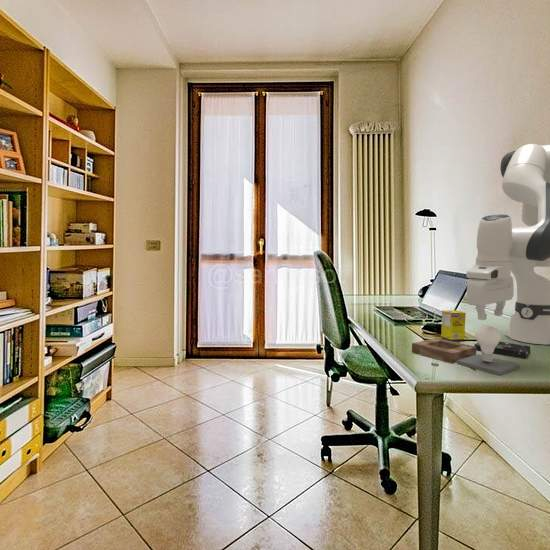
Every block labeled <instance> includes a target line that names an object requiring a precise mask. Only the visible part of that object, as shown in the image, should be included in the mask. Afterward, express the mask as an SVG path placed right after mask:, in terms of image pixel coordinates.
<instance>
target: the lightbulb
mask: <svg viewBox="0 0 550 550" xmlns="http://www.w3.org/2000/svg"><path fill="white" fill-rule="evenodd" d="M501 338H502V337H501V333H500V331H499V330H498V329H497V328H496V327H494V326H491V325H483V326H480V327H479V328H478V329H477V330H476V332H475V339H476V343H477V342H478V343H479V345H480V347H481V351H482V352H481V351H480V352H481V355H482V360H483V361H484V362H486V363H489V362H492V358H493V352H494V349H495V347H496V346H497V345H498V344H499V342H501Z"/></svg>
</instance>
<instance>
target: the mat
mask: <svg viewBox="0 0 550 550" xmlns="http://www.w3.org/2000/svg"><path fill="white" fill-rule="evenodd" d="M456 364H457V365H460V366H464V367H468V368H471V369H475V370H479V371H483V372H486V373H489V372H490V374H493V373H494V375H497V374H498V376H502V375H504V373H505V374H507V373H510V372H512V371H514V369H515V370H517V369H520V368H519V367H521V364H520V363H516V362H512V361H507V360H503V359H500V358H495V357H492V362H489V363H486V362H484V361H483V360H482V354H479V353H476V355H473V356H470V357H467V358H464V359H460V360H457V362H456ZM509 371H510V372H509Z"/></svg>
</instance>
